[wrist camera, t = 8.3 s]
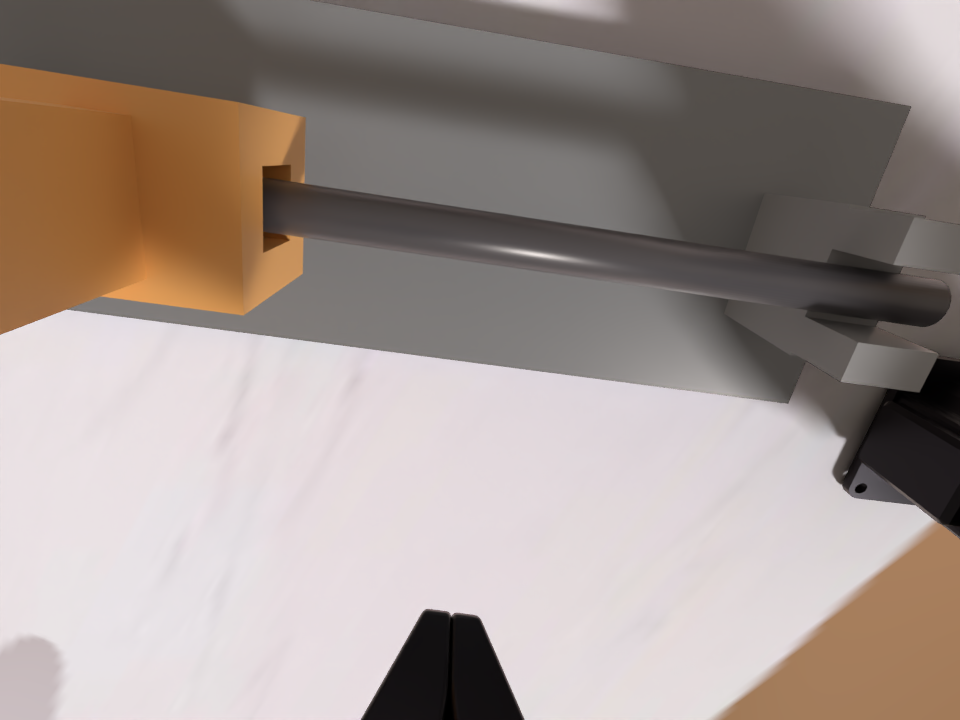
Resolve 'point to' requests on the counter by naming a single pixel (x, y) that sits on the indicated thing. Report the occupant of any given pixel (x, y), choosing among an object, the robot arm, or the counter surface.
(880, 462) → the robot arm
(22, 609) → the counter surface
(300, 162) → the orange slider block
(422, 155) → the stand
